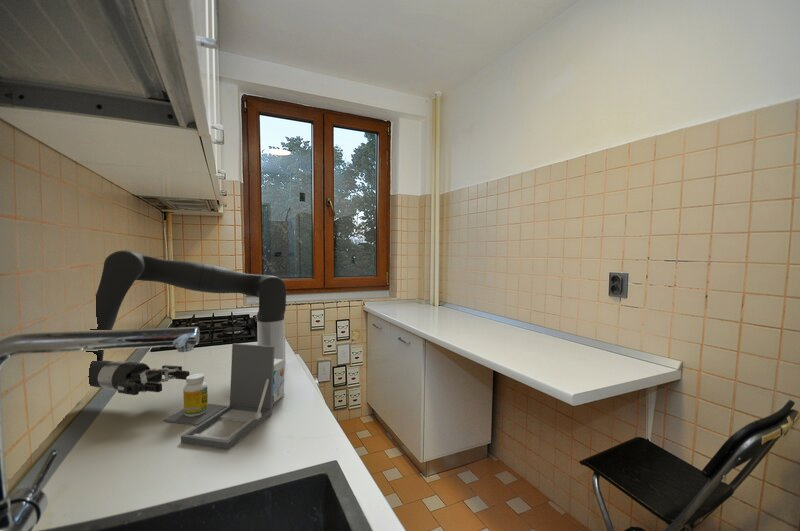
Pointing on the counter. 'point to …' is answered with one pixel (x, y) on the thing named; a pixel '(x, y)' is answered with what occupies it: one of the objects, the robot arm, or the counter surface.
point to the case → (242, 396)
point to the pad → (194, 420)
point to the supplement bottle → (195, 395)
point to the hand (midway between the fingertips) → (175, 381)
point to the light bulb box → (278, 380)
